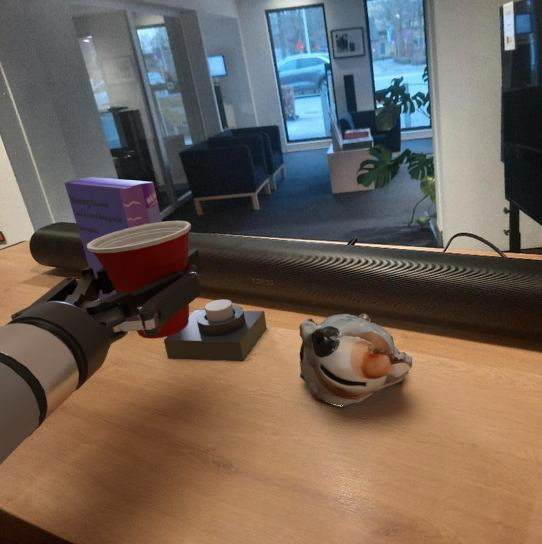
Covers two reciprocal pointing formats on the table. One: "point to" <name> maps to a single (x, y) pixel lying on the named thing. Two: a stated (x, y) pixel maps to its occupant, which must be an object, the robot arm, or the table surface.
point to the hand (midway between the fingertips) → (164, 261)
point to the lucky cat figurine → (349, 358)
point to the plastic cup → (145, 260)
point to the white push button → (219, 310)
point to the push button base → (217, 336)
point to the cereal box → (110, 209)
